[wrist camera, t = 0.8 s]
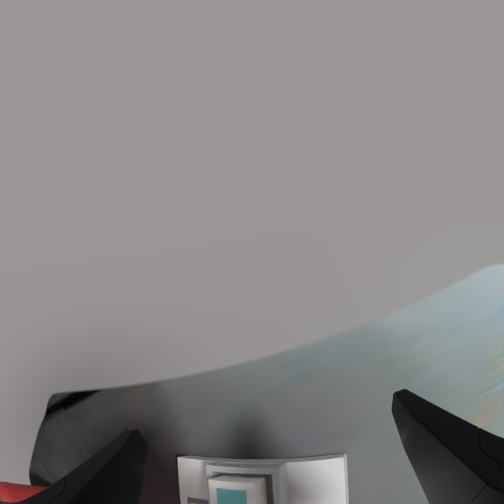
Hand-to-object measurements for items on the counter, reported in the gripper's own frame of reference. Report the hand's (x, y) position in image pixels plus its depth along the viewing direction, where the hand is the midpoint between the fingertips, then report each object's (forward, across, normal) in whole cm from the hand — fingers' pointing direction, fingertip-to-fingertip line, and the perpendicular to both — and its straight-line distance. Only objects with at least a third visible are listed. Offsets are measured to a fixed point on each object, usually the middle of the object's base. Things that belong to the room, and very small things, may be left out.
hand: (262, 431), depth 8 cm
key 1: (+4, +4, +12) cm, 14 cm away
